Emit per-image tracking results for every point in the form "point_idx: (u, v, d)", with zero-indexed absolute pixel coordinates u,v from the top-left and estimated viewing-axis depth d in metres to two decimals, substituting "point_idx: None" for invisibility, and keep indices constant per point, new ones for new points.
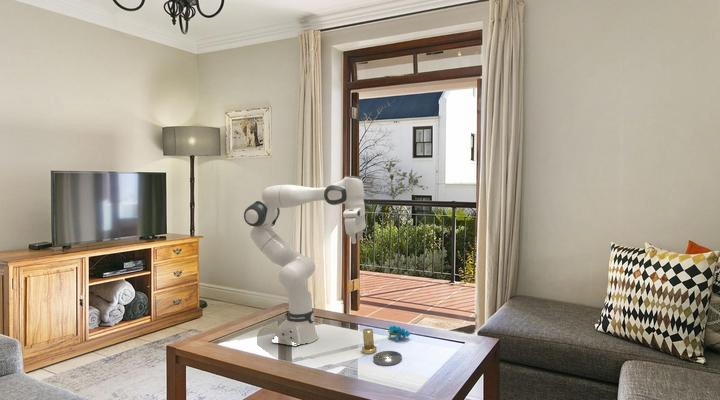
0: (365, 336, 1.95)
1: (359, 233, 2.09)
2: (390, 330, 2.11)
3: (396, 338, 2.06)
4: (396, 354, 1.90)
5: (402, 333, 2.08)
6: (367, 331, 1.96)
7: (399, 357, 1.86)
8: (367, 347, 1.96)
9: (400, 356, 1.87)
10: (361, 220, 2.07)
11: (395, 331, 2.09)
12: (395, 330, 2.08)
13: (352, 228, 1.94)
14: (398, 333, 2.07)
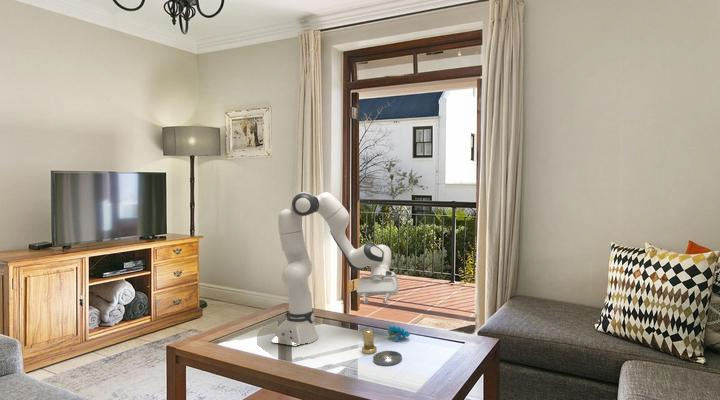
0: (365, 336, 1.95)
1: (364, 296, 2.11)
2: (390, 330, 2.11)
3: (396, 338, 2.06)
4: (396, 354, 1.90)
5: (402, 333, 2.08)
6: (367, 331, 1.96)
7: (399, 357, 1.86)
8: (367, 347, 1.96)
9: (400, 356, 1.87)
10: None
11: (395, 331, 2.09)
12: (395, 330, 2.08)
13: (398, 289, 2.09)
14: (398, 333, 2.07)
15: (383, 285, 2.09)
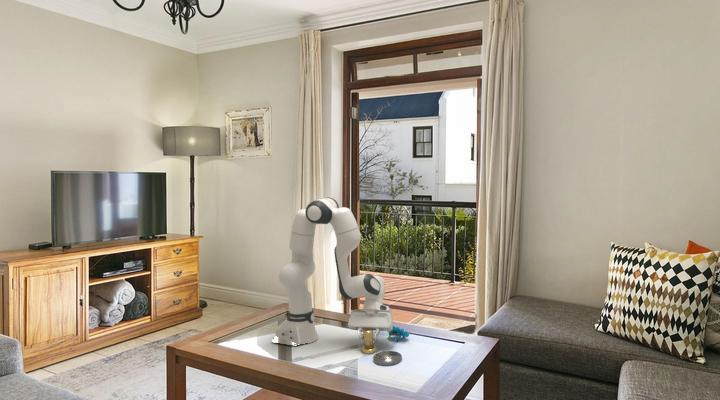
0: (365, 336, 1.95)
1: (360, 331, 1.99)
2: None
3: (395, 338, 2.06)
4: (396, 354, 1.90)
5: (401, 333, 2.07)
6: (367, 331, 1.96)
7: (399, 357, 1.86)
8: (367, 347, 1.96)
9: (400, 356, 1.87)
10: None
11: (394, 331, 2.09)
12: (394, 330, 2.08)
13: (392, 325, 1.99)
14: (397, 333, 2.07)
15: (377, 320, 1.99)
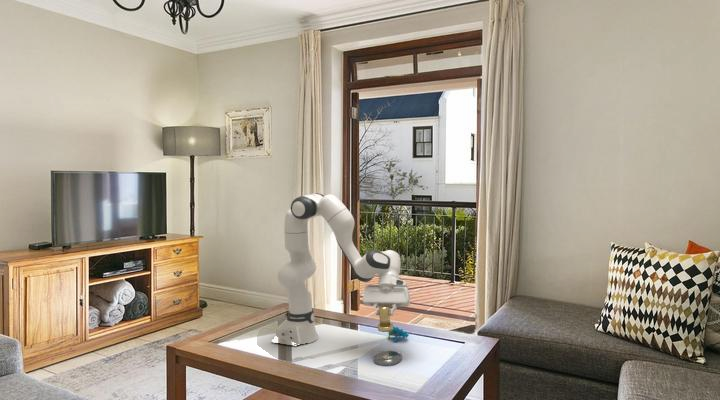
0: (381, 313, 1.85)
1: (376, 307, 1.89)
2: None
3: (395, 338, 2.06)
4: (396, 354, 1.90)
5: (401, 334, 2.07)
6: (383, 307, 1.85)
7: (399, 357, 1.86)
8: (383, 324, 1.85)
9: (400, 356, 1.87)
10: None
11: (394, 331, 2.09)
12: (394, 330, 2.08)
13: (409, 300, 1.88)
14: (397, 333, 2.07)
15: (393, 296, 1.88)
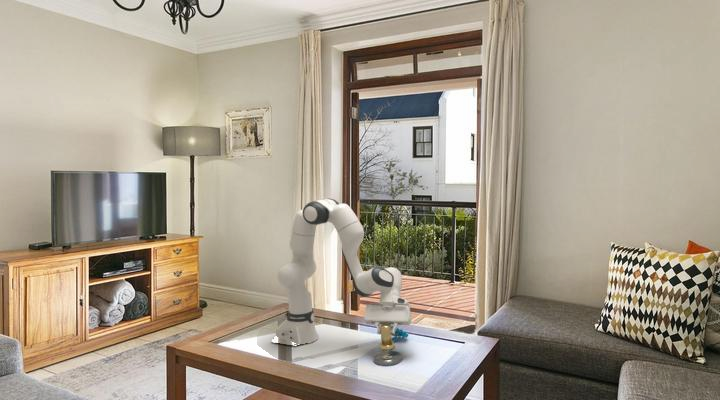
0: (383, 331, 1.85)
1: (377, 325, 1.89)
2: None
3: (394, 338, 2.06)
4: (396, 354, 1.90)
5: (401, 334, 2.07)
6: (385, 326, 1.86)
7: (399, 357, 1.86)
8: (385, 343, 1.85)
9: (400, 356, 1.87)
10: None
11: None
12: None
13: None
14: (396, 334, 2.07)
15: (394, 314, 1.89)
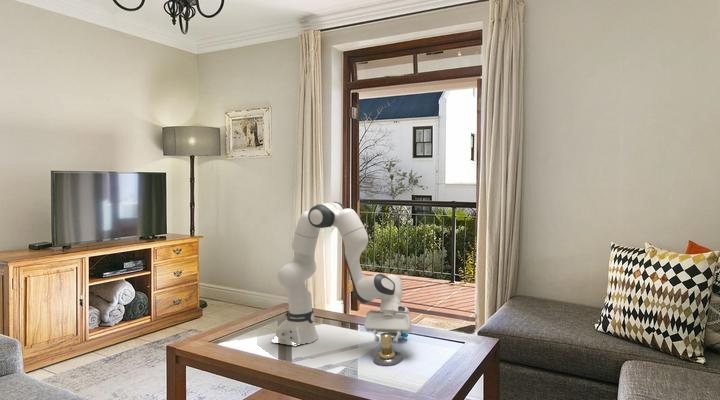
0: (383, 340, 1.86)
1: (375, 333, 1.90)
2: None
3: None
4: (396, 354, 1.90)
5: None
6: (385, 335, 1.86)
7: (399, 357, 1.86)
8: (385, 352, 1.86)
9: (400, 356, 1.87)
10: None
11: None
12: None
13: (411, 326, 1.89)
14: (396, 334, 2.06)
15: (395, 322, 1.89)
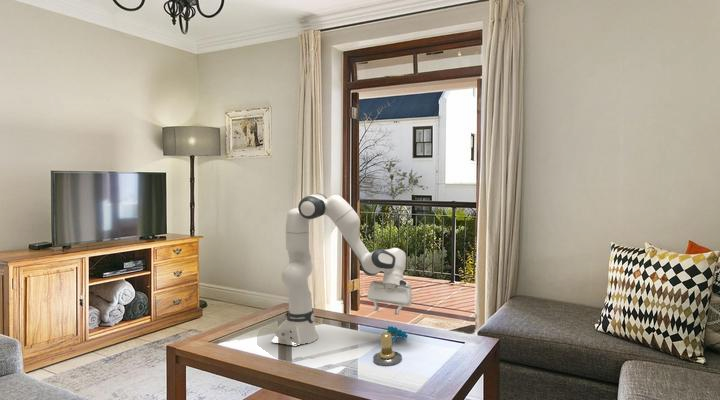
0: (383, 340, 1.86)
1: (375, 303, 2.02)
2: None
3: (393, 339, 2.06)
4: (396, 354, 1.90)
5: (400, 334, 2.07)
6: (385, 335, 1.86)
7: (399, 357, 1.86)
8: (385, 352, 1.86)
9: (400, 356, 1.87)
10: None
11: (393, 332, 2.08)
12: (393, 331, 2.07)
13: (411, 300, 2.00)
14: (396, 334, 2.06)
15: (396, 295, 2.00)
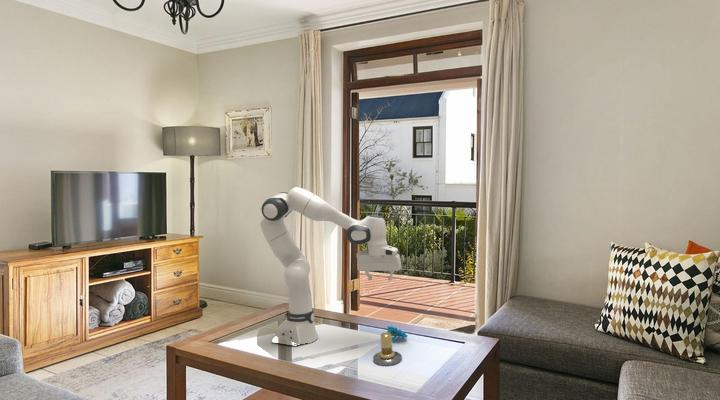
0: (383, 340, 1.86)
1: (367, 273, 2.06)
2: (389, 330, 2.11)
3: (393, 339, 2.06)
4: (396, 354, 1.90)
5: (400, 334, 2.07)
6: (385, 335, 1.86)
7: (399, 357, 1.86)
8: (385, 352, 1.86)
9: (400, 356, 1.87)
10: None
11: (393, 332, 2.08)
12: (393, 331, 2.07)
13: (400, 263, 2.02)
14: (395, 334, 2.06)
15: (385, 264, 2.01)
